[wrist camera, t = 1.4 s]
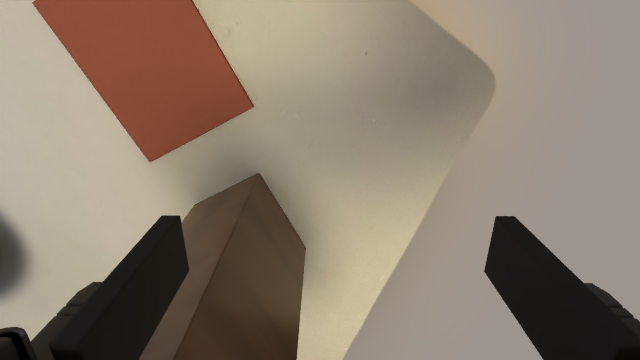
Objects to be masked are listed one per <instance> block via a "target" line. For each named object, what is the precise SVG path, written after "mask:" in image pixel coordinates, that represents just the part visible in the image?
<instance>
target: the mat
mask: <svg viewBox="0 0 640 360" xmlns="http://www.w3.org/2000/svg"><path fill="white" fill-rule="evenodd" d="M32 3H33V5H34V6H35V7H36V9H37V10H38V11H39V13H40V14H41V15H42V17H43V18H44V20H45V21H46V22H47V24H48V25H49V26H50V28H51V29H52V30H53V32H54V33H55V34H56V36H57V37H58V39H59V40H60V41H61V43H62V44H63V45H64V47H65V48H66V49H67V51H68V52H69V53H70V55H71V56H72V58H73V59H74V60H75V62H76V63H77V64H78V66H79V67H80V68H81V70H82V71H83V72H84V74H85V75H86V77H87V78H88V79H89V81H90V82H91V83H92V85H93V86H94V87H95V89H96V90H97V91H98V93H99V94H100V96H101V97H102V98H103V100H104V101H105V102H106V104H107V105H108V106H109V108H110V109H111V110H112V112H113V113H114V115H115V116H116V117H117V119H118V120H119V121H120V123H121V124H122V125H123V127H124V128H125V129H126V131H127V132H128V134H129V135H130V136H131V138H132V139H133V140H134V142H135V143H136V144H137V146H138V147H139V148H140V150H141V151H142V153H143V154H144V155H145V157H146V158H147V159H148V161H149V162H151V161H153V160H155V159H157V158H159V157H161V156H163V155H164V154H166V153H168V152H170V151H172V150H174V149H176V148H178V147H179V146H181V145H183V144H185V143H187V142H189V141H191V140H192V139H194V138H196V137H198V136H200V135H202V134H204V133H206V132H207V131H209V130H211V129H213V128H215V127H217V126H219V125H220V124H222V123H224V122H226V121H228V120H230V119H232V118H234V117H235V116H237V115H239V114H241V113H243V112H245V111H247V110H248V109H250V108H252V107H253V104H252V102H251V101H250V99H249V97H248V96H247V94H246V92H245V90H244V89H243V87H242V85H241V84H240V82H239V80H238V78H237V77H236V75H235V73H234V72H233V70H232V68H231V66H230V65H229V63H228V61H227V60H226V58H225V56H224V54H223V53H222V51H221V49H220V48H219V46H218V44H217V42H216V41H215V39H214V37H213V36H212V34H211V32H210V30H209V29H208V27H207V25H206V24H205V22H204V20H203V18H202V17H201V15H200V13H199V12H198V10H197V8H196V6H195V5H194V3H193V1H192V0H35V1H34V2H32Z"/></svg>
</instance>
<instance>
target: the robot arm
mask: <svg viewBox="0 0 640 360" xmlns="http://www.w3.org/2000/svg"><path fill="white" fill-rule="evenodd" d="M188 272H189V265H188V259H187V253H186V247H185V241H184V236H183V230H182V224H181V218H180V216H161V217H160V218H159V219H158V220H157V222H156V223H155V224H154V225H153V226H152V227H151V228H150V229H149V231H148V232H147V233H146V234H145V235H144V236H143V237H142V239H141V240H140V241H139V242H138V243H137V244H136V245H135V246H134V248H133V249H132V250H131V251H130V252H129V253H128V254H127V255H126V257H125V258H124V259H123V260H122V261H121V262H120V263H119V264H118V266H117V267H116V268H115V269H114V270H113V271H112V272H111V273H110V275H109V276H108V277H107V278H106V279H105V280H104V281H103V282H93V283H91V284H90V285H88V286H87V287H85V288H84V289H82V290H80V291H79V292H77V293H76V295H75V296H74V297H73V298H72V299H71V300H70V301H69V302H68V303H67V304H66V307H63V308H62V309H61V310H60V311H59V312H58V313H57V316H55V317H54V318H53V319H52V320H51V321H50V322H49V323H48V324H47V325H46V326H45V327H44V328H43V329H42V330H41V331H40V332H39V333H38V335H37V336H36V337H35V338H34V339H33V340H32V341H31V342H30V340H29V337H28V335H27V333H26V331H25V330H24V329H22V328H19V327H9V328H3V329H0V360H139V358H140V357H141V355H142V353H143V351H144V350H145V348H146V346H147V344H148V342H149V341H150V339H151V337H152V335H153V334H154V332H155V330H156V328H157V327H158V325H159V323H160V321H161V320H162V318H163V316H164V314H165V313H166V311H167V309H168V307H169V305H170V304H171V302H172V300H173V298H174V297H175V295H176V293H177V291H178V290H179V288H180V286H181V284H182V283H183V281H184V279H185V277H186V276H187V274H188ZM484 272H485V273H486V275H487V276H488V278H489V279H490V281H491V282H492V284H493V285H494V287H495V288H496V290H497V291H498V292H499V294H500V295H501V297H502V299H503V300H504V302H505V303H506V305H507V306H508V307H509V309H510V310H511V312H512V313H513V315H514V316H515V318H516V319H517V321H518V322H519V324H520V325H521V327H522V328H523V330H524V331H525V333H526V334H527V336H528V337H529V339H530V340H531V341H532V343H533V345H534V346H535V348H536V349H537V351H538V352H539V354H540V355H541V357H542V358H543V360H640V322H639V321H638V320H637V319H634V317H633V315H632V314H631V313H629V311H627V310H626V309H625V308H623V307H622V305H621V304H620V303H619V302H618V301H617V300H615V299H614V298H613V297H612V296H611V295H610V294H609V293H607V292H605V291H604V290H602V289H600V288H599V287H597V286H595V285H593V284H592V283H583V282H582V281H581V280H580V279H579V278H578V277H577V276H576V275H574V273H572V272H571V271H570V270H569V269H568V268H567V267H566V266H565V265H564V264H563V263H562V262H561V261H560V260H559V259H558V258H557V257H556V256H555V255H554V254H553V253H552V252H551V251H550V250H549V249H548V248H547V247H545V245H543V244H542V243H541V242H540V241H539V240H538V239H537V238H536V237H535V236H534V235H533V234H532V233H531V232H530V231H529V230H528V229H527V228H526V227H525V226H524V225H523V224H522V223H521V222H520V221H519V220H518V219H517V218H516V217H514V216H496V218H495V223H494V227H493V232H492V237H491V242H490V247H489V252H488V256H487V261H486V266H485V270H484Z"/></svg>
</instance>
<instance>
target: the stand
mask: <svg viewBox="0 0 640 360" xmlns="http://www.w3.org/2000/svg"><path fill="white" fill-rule="evenodd" d="M181 224H182V230H183V236H184V241H185V247H186V253H187V259H188V265H189V272H188V274H187V276H186V277H185V279H184V281H183V283H182V284H181V286H180V288H179V290H178V291H177V293H176V295H175V297H174V298H173V300H172V302H171V304H170V305H169V307H168V309H167V311H166V313H165V314H164V316H163V318H162V320H161V321H160V323H159V325H158V327H157V328H156V330H155V332H154V334H153V335H152V337H151V339H150V341H149V342H148V344H147V346H146V348H145V350H144V351H143V353H142V355H141V357H140V358H139V360H296V359H297V347H298V334H299V322H300V310H301V298H302V286H303V274H304V262H305V250H306V248H305V246H304V244H303V243H302V241H301V240H300V238H299V236H298V235H297V233H296V231H295V230H294V228H293V227H292V225H291V223H290V222H289V220H288V219H287V217H286V215H285V214H284V212H283V211H282V209H281V207H280V206H279V204H278V203H277V201H276V199H275V198H274V196H273V194H272V193H271V191H270V190H269V188H268V186H267V185H266V183H265V182H264V180H263V178H262V177H261V175H260V174H256V175H254V176H252V177H250V178H248V179H246V180H244V181H242V182H240V183H238V184H236V185H234V186H232V187H230V188H228V189H226V190H224V191H222V192H220V193H218V194H216V195H214V196H212V197H210V198H208V199H206V200H204V201H202V202H200V203H198V204H196V205H194V207H193V208H192V209H191V211H190V212H189V213H188V215H187V216H186V217H185V219H184V220H183V221H182V223H181Z"/></svg>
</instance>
